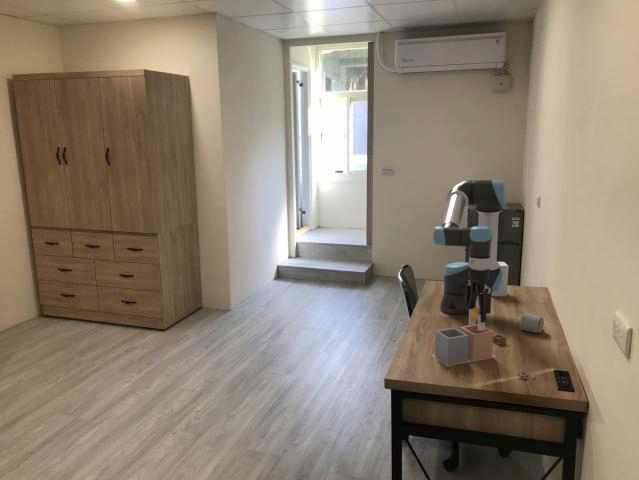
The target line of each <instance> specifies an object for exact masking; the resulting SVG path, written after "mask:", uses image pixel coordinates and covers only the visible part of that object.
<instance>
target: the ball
mask: <svg viewBox="0 0 639 480" xmlns="http://www.w3.org/2000/svg"><path fill="white" fill-rule="evenodd" d="M478 313H480V309H479V307H476V308H474V309H473V310H472V311H471V313H470V316H471V318H472V319H473V320H474V321H476V322H478Z"/></svg>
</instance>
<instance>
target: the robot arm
mask: <svg viewBox="0 0 639 480" xmlns="http://www.w3.org/2000/svg"><path fill="white" fill-rule="evenodd" d="M506 198H507V197H506V187H505V182H504V181H503V180H497V179H496V180H494V179H467V180H462V181H461V182H458V183H457V184H455V185H454V186H453V187H452V188H451V189H450V190H449V192H448V193H447V194H446V207H445V212H444V214H443V218H442V222H441V225H439V226H435V227H433V235H432V236H433V237H432V238H433V239H432V241H433V244H434V245H435V246H442V247H445V246H446V247H447V246H448V247H463V248H465V247H466V248H469V255H468V256H469V257H468V258H469V259H468V262H465V261H457V262H451V263H448V264H446V266H445V267H444V273H443V275H444V276H443V277H444V279H443V295H442V297H441V300H440V302H439V310H440V311H441V312H443V313H446V314H451V315H466V314H468V326H472V325H476V324H478V330H479V331H480V330H485V327H486V322H487V314H488V315H489V314H491V309H492V308H491V307H492V296H491V293H492V292H498V291H499V288H500V284H501V279H502V273H503V269H502V268H500V264H499V263H498V262H499V261H497V260H498V258H497V257H498V238H499V237H498V236H499V214H500V213H501V212H502V211H503V208H505V207H506V206H507V199H506ZM467 206H469V207H470V206H471V207H472V206H473V207H475V211H476V212H477V213H478V224H477V225H475V226H472V227H465V226H464V227H462V226H461V225H462V222H463V217H464V213H465V209H466V207H467ZM477 300H478V308H479V309H480V313H478V321H474V320H473V319H472V318H471V316H470V313H471V311H472V310H473V309H474V308H477V305H476V304H477Z"/></svg>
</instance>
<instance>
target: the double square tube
mask: <svg viewBox="0 0 639 480" xmlns="http://www.w3.org/2000/svg"><path fill="white" fill-rule="evenodd" d="M493 335H494V330H492V329H490V328H488V327H486V326H485V330H480V331H479V330H478V323H476V325H472V326H469V325H464V326H460V327H459V329H458V328H457V327H451V328H447V329H446V328H445V329H440V330H439V329H438V330H435V335H434V336H435V339H434V340H435V342H434V343H435V345H434V347H435V348H434V354H430V356H431V357H433V358H434V359H436V360H437V361H439V363H441V364H443V365H444V366H445V367H451V366H456V365H462V364H466V363H473V362H479V361H483V360H489V359H495V358H497V356H496V355H494V354H493V346H494V345H493V343H494V342H493Z"/></svg>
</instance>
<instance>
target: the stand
mask: <svg viewBox="0 0 639 480" xmlns="http://www.w3.org/2000/svg"><path fill="white" fill-rule="evenodd" d="M506 341H507V337H506V336H504V335H502V334H499V333H498V334H493V343H494V344H496V345H498V346H499V345H504V344H506Z"/></svg>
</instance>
